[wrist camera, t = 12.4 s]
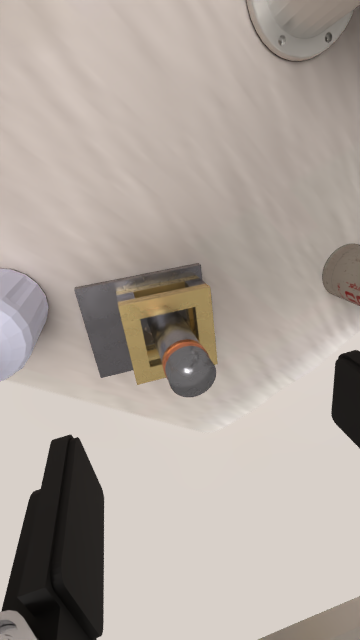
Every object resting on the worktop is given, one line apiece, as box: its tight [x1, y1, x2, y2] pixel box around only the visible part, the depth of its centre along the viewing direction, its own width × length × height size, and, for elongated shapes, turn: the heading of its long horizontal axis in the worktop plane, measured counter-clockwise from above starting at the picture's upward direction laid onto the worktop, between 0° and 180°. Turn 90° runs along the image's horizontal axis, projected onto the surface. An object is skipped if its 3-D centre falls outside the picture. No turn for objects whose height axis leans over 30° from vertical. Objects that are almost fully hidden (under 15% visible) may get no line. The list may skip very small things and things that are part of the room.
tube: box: [148, 311, 216, 397], centre depth 33 cm, size 5×5×14 cm
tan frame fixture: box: [75, 263, 217, 385], centre depth 37 cm, size 16×13×6 cm
